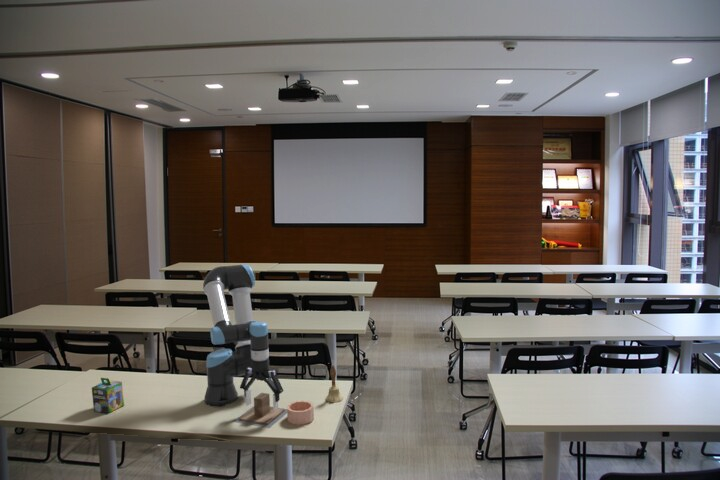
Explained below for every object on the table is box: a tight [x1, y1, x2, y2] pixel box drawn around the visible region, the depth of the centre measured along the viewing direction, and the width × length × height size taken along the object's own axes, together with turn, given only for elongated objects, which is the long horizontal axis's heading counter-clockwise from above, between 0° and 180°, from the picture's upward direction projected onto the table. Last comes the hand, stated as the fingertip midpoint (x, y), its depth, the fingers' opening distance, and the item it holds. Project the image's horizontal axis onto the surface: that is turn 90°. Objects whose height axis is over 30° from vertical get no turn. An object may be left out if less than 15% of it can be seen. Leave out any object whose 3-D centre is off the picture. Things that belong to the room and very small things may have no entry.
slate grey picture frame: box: [232, 405, 287, 429], centre depth 215 cm, size 18×18×1 cm
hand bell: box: [324, 365, 344, 404], centre depth 231 cm, size 8×8×16 cm
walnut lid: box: [239, 392, 286, 425], centre depth 214 cm, size 14×14×9 cm
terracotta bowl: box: [286, 400, 315, 426], centre depth 211 cm, size 11×11×6 cm
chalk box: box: [91, 377, 125, 414], centre depth 226 cm, size 9×9×15 cm
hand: (262, 406), depth 214 cm, fingers open, 13 cm apart
